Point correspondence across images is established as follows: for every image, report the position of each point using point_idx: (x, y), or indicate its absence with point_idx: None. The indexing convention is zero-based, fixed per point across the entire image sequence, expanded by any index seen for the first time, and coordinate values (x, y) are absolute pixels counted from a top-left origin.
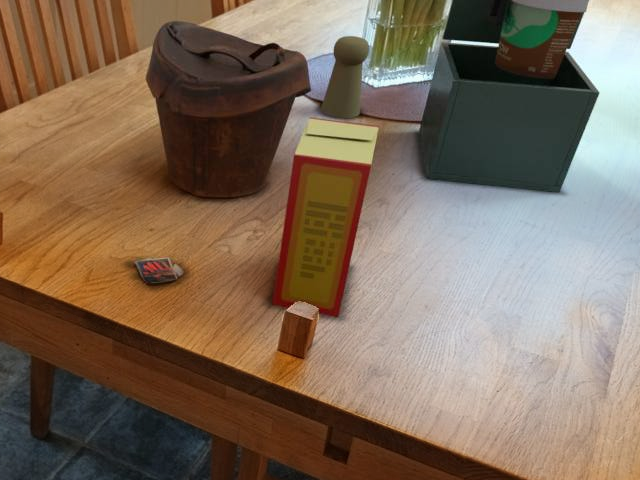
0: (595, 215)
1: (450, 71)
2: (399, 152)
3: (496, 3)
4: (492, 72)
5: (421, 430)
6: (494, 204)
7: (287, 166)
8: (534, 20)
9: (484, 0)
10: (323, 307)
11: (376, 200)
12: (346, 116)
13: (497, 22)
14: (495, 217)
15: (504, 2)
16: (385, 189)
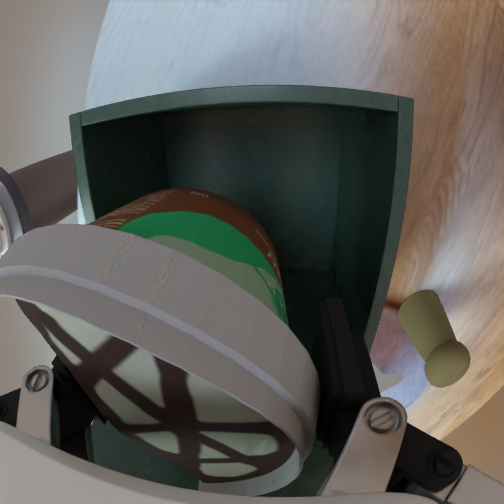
0: (125, 58)
1: (408, 174)
2: None
3: (361, 360)
4: None
5: None
6: (254, 40)
7: (499, 128)
8: (206, 257)
9: (315, 439)
10: None
11: (412, 33)
12: (419, 293)
13: (334, 300)
14: (257, 5)
15: (343, 351)
16: (403, 63)
